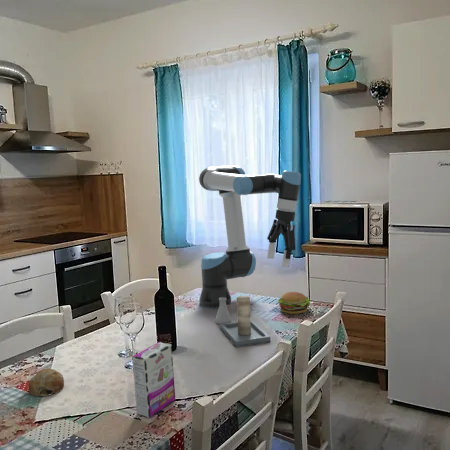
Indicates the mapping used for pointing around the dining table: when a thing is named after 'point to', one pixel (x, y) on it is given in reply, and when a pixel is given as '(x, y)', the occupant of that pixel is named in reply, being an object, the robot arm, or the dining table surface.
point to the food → (294, 303)
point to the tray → (238, 340)
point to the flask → (223, 313)
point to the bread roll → (46, 382)
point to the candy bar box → (153, 379)
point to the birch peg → (243, 315)
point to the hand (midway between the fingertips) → (277, 262)
